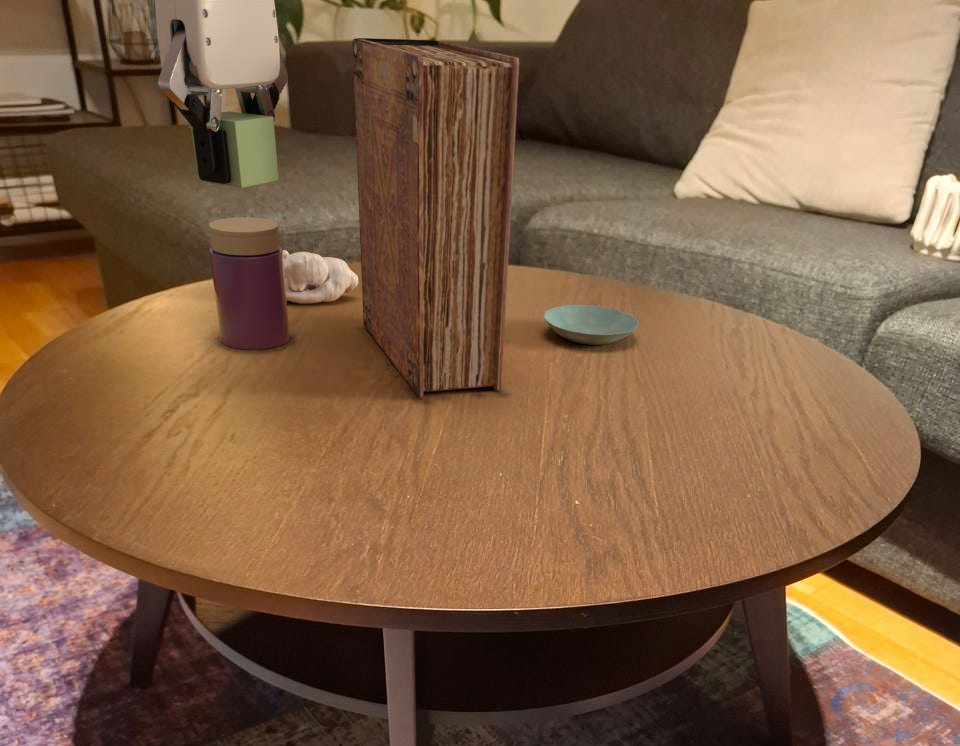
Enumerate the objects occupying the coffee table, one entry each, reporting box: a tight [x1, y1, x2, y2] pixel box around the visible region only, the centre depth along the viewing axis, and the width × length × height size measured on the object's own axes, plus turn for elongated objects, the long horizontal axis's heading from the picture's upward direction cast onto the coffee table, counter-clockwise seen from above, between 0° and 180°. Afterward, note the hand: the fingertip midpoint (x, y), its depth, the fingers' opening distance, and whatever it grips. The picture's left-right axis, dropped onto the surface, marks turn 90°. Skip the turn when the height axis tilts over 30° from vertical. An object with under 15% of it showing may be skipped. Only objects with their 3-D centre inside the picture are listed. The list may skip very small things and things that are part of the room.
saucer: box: [543, 304, 640, 346], centre depth 112 cm, size 12×12×2 cm
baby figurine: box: [282, 249, 359, 305], centre depth 119 cm, size 9×12×8 cm
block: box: [190, 110, 280, 189], centre depth 79 cm, size 5×5×5 cm
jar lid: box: [208, 216, 281, 255], centre depth 100 cm, size 8×8×2 cm
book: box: [351, 37, 520, 400], centre depth 95 cm, size 25×9×30 cm, turn 19°
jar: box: [208, 246, 291, 351], centre depth 103 cm, size 8×8×12 cm
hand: (237, 175), depth 80 cm, fingers closed on block, 5 cm apart
